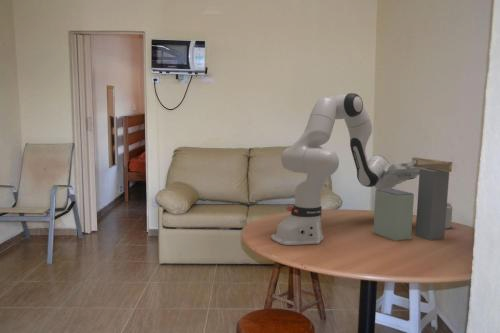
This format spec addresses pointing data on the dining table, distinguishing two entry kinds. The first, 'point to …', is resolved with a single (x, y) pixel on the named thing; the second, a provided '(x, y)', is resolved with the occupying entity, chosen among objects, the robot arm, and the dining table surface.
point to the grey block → (393, 214)
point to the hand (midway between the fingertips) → (419, 161)
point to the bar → (433, 164)
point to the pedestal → (432, 204)
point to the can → (448, 216)
